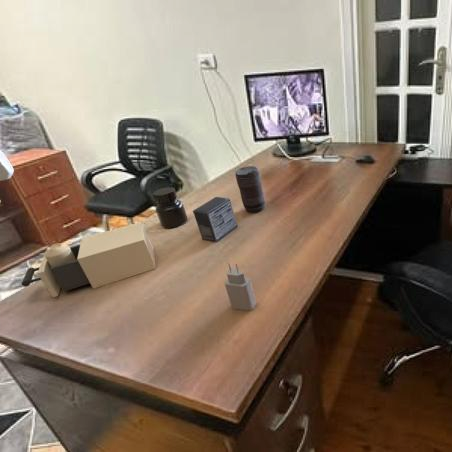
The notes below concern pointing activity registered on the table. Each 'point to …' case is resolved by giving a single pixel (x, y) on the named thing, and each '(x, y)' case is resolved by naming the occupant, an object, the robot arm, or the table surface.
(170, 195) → the ink bottle
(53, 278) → the drawer
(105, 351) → the table surface
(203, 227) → the small box
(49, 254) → the candle
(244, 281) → the power adapter
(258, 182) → the camera lens
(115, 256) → the cabinet
